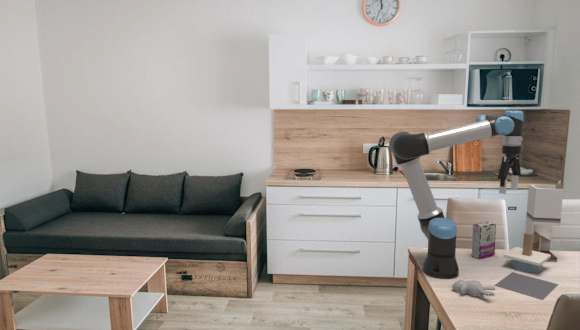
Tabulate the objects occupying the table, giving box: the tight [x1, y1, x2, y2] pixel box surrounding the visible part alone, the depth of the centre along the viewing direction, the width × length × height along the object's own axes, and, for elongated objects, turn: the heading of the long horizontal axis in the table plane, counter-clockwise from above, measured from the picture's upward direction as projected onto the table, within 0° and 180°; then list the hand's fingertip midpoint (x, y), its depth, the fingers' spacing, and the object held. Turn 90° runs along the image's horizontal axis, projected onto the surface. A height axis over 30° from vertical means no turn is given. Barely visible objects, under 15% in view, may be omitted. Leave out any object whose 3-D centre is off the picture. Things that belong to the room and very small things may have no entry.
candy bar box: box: [471, 221, 497, 260], centre depth 210 cm, size 11×5×16 cm, turn 117°
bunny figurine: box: [451, 279, 496, 298], centre depth 170 cm, size 10×5×15 cm
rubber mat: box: [493, 271, 560, 301], centre depth 176 cm, size 20×18×1 cm
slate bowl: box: [510, 259, 543, 273], centre depth 195 cm, size 12×12×6 cm
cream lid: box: [502, 231, 551, 266], centre depth 194 cm, size 15×15×11 cm
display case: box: [524, 183, 564, 263], centre depth 206 cm, size 11×11×35 cm
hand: (508, 191), depth 197 cm, fingers open, 13 cm apart
